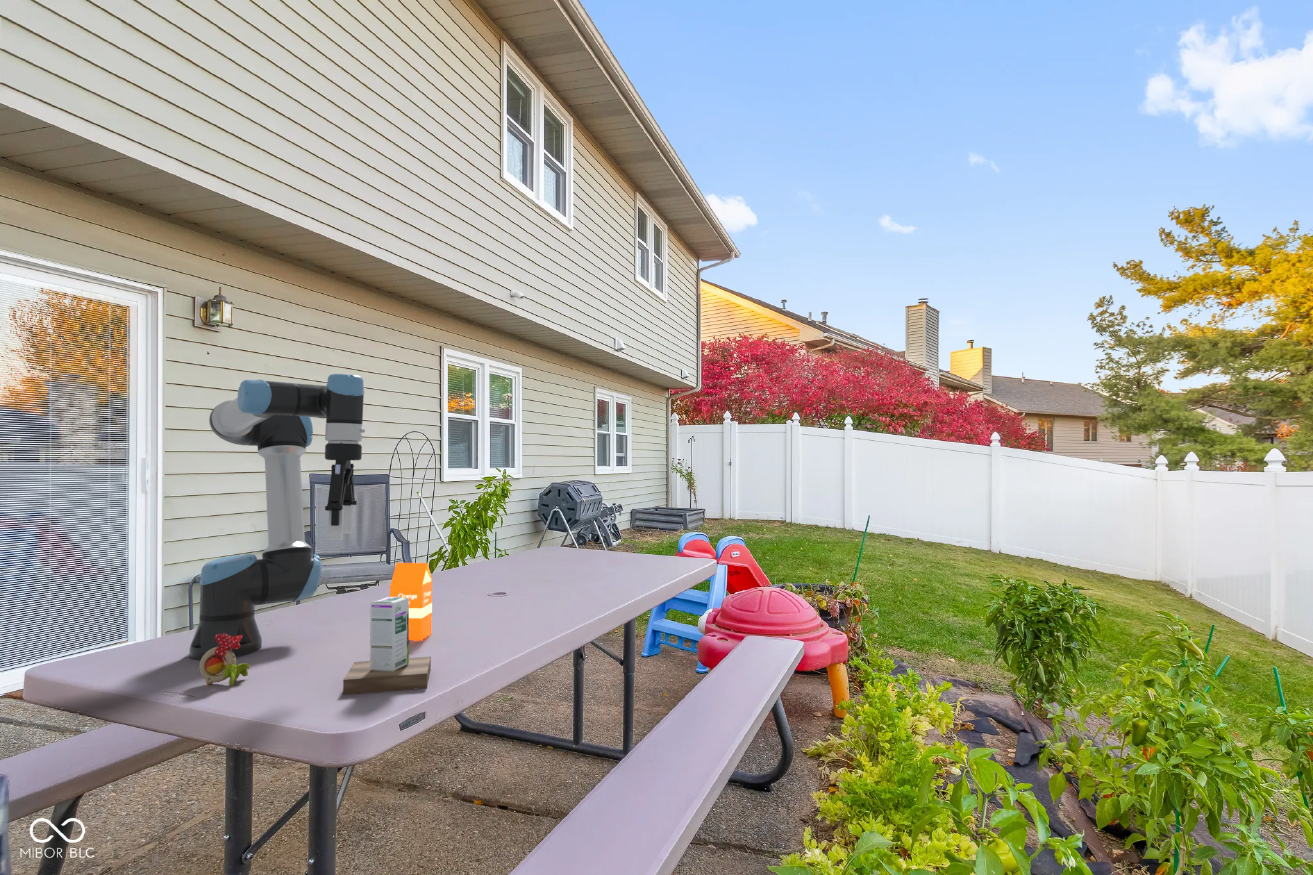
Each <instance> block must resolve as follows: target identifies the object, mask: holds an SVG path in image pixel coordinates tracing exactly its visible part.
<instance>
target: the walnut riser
mask: <svg viewBox="0 0 1313 875" xmlns="http://www.w3.org/2000/svg"><path fill="white" fill-rule="evenodd" d="M431 662H432V657H431V656H420V657H409V663H408V664H407V665H405V666H403V667H401V668H399V669H397V670H395V671H394V672H392V671H375V670H371V669H370V660H364V661H354V662H352V665H351V667H350V668H349V670H348V672H347V673H346V674H345V677H344V678H343V680H342V682H343V684H342V695H343V696H346V695H347V696H348V695H358V694H359V695H360V694H361V695H362V694H368V693H369V694H370V693H371V694H373V693H380V692H381V693H384V692H394V691H395V692H396V691H407V690H416V689H415V688H421V689H427V688H428V684H429V680H430V674H431V670H432V669H431V665H432V663H431Z"/></svg>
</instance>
